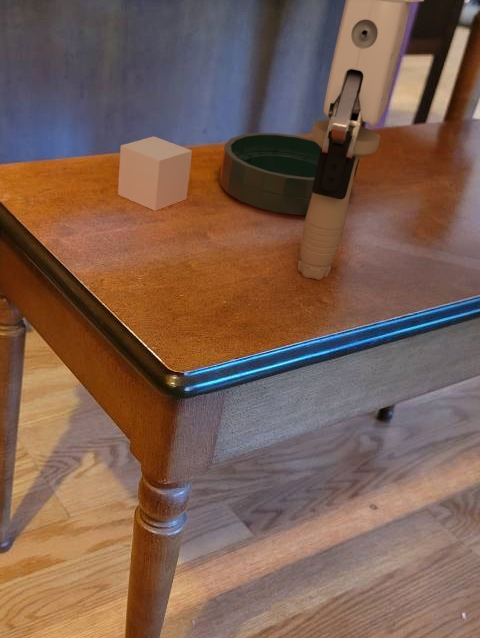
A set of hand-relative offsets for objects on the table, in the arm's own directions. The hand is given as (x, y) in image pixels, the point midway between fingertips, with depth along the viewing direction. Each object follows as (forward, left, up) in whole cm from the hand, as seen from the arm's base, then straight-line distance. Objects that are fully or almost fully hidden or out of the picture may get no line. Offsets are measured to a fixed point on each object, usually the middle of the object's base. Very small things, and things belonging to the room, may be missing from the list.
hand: (333, 183), depth 72 cm
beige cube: (+22, -10, -10) cm, 26 cm away
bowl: (+8, -21, -10) cm, 25 cm away
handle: (0, 0, -10) cm, 10 cm away
